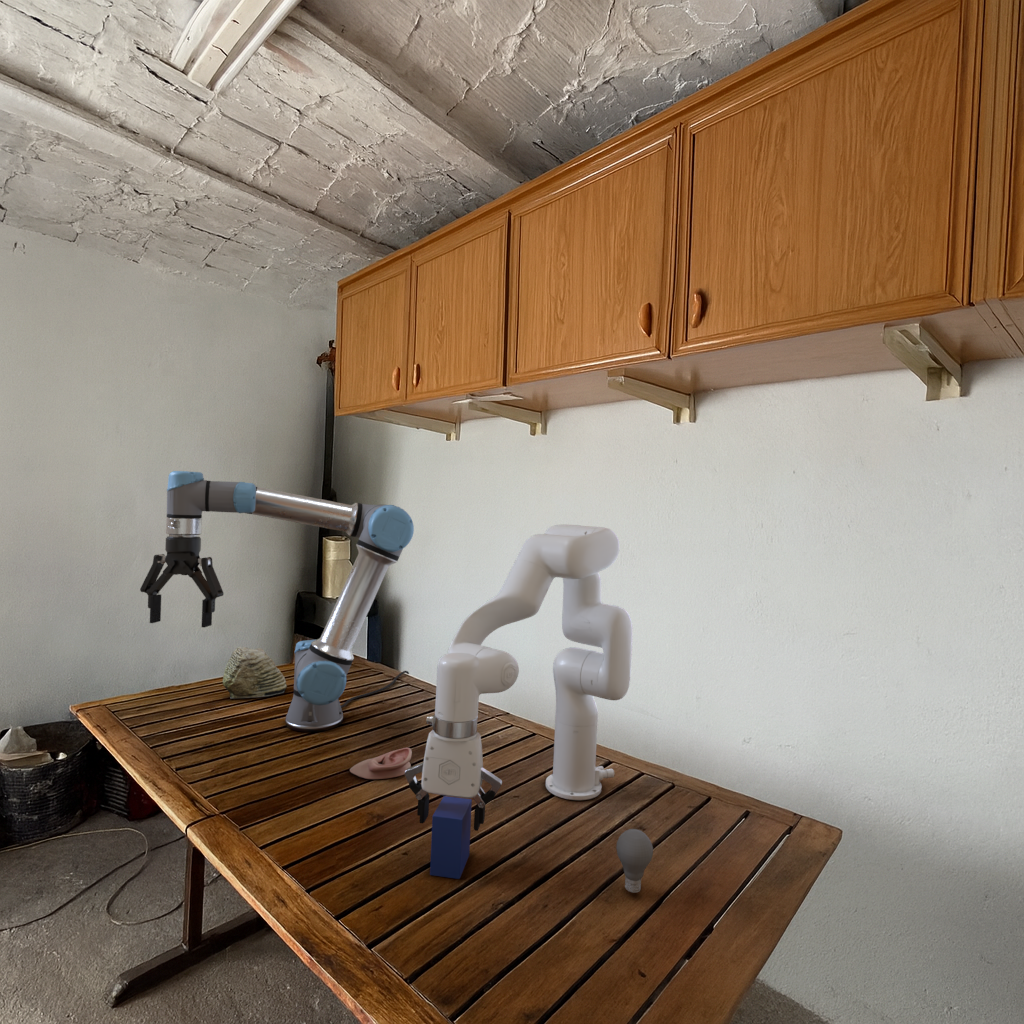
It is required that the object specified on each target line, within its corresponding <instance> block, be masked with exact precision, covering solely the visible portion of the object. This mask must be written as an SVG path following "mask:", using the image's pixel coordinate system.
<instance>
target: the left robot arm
mask: <svg viewBox="0 0 1024 1024" xmlns="http://www.w3.org/2000/svg"><path fill="white" fill-rule="evenodd" d="M167 480H168V481H167V489H166V522H165V523H166V525H165V526H166V528H165V533H166V535H168V536H166V537H165V549H164V550H165V552H166V555H165V554H164V553H160V554H159V553H158V554H154V555H153V558H152V559H153V560H152V565H151V567H150V569H149V570H148V572H147V574H146V576H145V578H144V580H143V583H142V584H141V586H140V589H139V591H140V592H141V593H145V594H146V595H147V608H148V609H149V624H155V623H159V622H162V621H161V620H162V619H161V618H162V617H161V616H162V613H161V612H162V594H161V593H160V591H161V590H162V589H163V588H164V587H165V585H166V584H168V582H169V581H170V580H171V578H172V577H173V576H176V575H177V576H178V575H181V576H188V577H189V578H191V580H192V581H193V582H194V583H195V585H196V586H197V588H198V589H199V591H200V592H201V593H202V595H203V596H204V599H202V601H201V602H202V603H201V628H207V627H211V626H212V625H213V624H212V622H213V613H214V612H215V611H216V600H217V598H220V597H223V596H224V594H225V593H224V590H223V588H222V586H221V583H220V581H219V578H218V576H217V573H216V570H215V568H214V566H213V557H212V556H205V557H200V552H201V550H202V537H200V536H201V534H202V528H203V527H202V526H203V524H202V523H203V522H202V521H203V516H202V515H203V512H207V513H208V512H212V513H213V512H215V513H233V514H234V513H235V514H237V513H238V514H248V515H254V516H259V517H265V518H269V519H274V520H275V519H276V520H281V521H286V522H291V523H297V524H302V525H308V526H313V527H318V528H323V529H329V530H335V531H340V532H345V533H346V534H347V535H348V536H349V537H352V538H358V539H357V542H356V544H355V546H356V549H357V551H358V554H357V556H356V558H355V561H354V562H353V565H352V567H351V569H350V572H349V573H348V576H347V578H346V580H345V582H344V585H343V587H342V589H341V591H340V593H339V596H338V598H337V600H336V603H335V604H334V606H333V609H332V611H331V614H330V616H329V618H328V620H327V622H326V624H325V626H324V629H323V631H322V633H321V635H320V637H319V638H317V639H307V640H300V641H298V642H297V643H295V648H294V649H295V650H294V672H293V673H294V674H293V675H294V676H293V695H292V696H293V697H292V699H291V702H290V704H289V708H288V711H287V713H286V715H285V726H286V728H287V729H289V730H291V731H294V732H295V731H296V732H301V733H316V732H325V731H329V730H332V729H335V728H337V727H339V726H340V725H342V723H343V722H344V714H343V709H342V708H345V707H346V706H347V705H348V704H349V703H350V702H352V701H354V700H356V699H359V698H363V697H367V696H370V695H373V694H376V693H379V692H382V691H384V690H386V689H388V688H390V687H391V686H392V685H393V684H395V683H396V681H397V679H399V678H400V677H401V676H402V675H403V674H407V675H410V672H409V671H408V670H403V671H401V672H400V673H399V674H398V675H396V676H395V677H394V678H393V680H392V681H391V682H390V683H388V684H387V685H385V686H383V687H381V688H379V689H376V690H372V691H369V692H366V693H363V694H362V693H361V694H358V695H356V696H355V695H354V696H353V697H350V698H349V699H347V700H346V701H345V702H344V703H342V704H341V702H340V699H339V698H340V697H341V696H342V695H343V693H344V691H345V689H346V686H347V675H348V673H349V671H350V669H351V666H352V664H353V662H354V660H355V657H354V654H353V647H354V646H355V643H356V640H357V639H358V636H359V634H360V632H361V629H362V627H363V625H364V622H365V620H366V619H367V616H368V615H369V612H370V609H371V607H372V605H373V603H374V600H375V598H376V596H377V594H378V592H379V589H380V587H381V585H382V583H383V580H384V578H385V577H386V574H387V572H388V569H389V567H390V566H391V565H394V564H396V563H398V561H399V559H400V557H401V555H402V552H403V551H404V549H405V548H406V547H407V546H408V545H409V544H410V542H411V541H412V539H413V537H414V532H415V528H414V527H415V525H414V522H413V519H412V517H411V516H410V515H409V513H408V512H407V511H406V510H405V509H403V508H402V507H400V506H397V505H394V504H367V503H361V502H354V503H353V504H347V503H343V502H336V501H332V500H327V499H322V498H316V497H312V496H306V495H301V494H296V493H290V492H286V491H281V490H275V489H270V488H266V487H260V486H256V484H255V483H254V482H245V481H222V480H217V481H216V480H206V479H205V477H204V474H203V472H201V471H185V470H173V471H171V472H170V473H169V474H168V477H167ZM165 564H166V567H165V568H164V566H165ZM200 567H201V569H200ZM163 568H164V569H163ZM162 570H163V571H162ZM161 572H162V573H161ZM159 575H160V576H159Z"/></svg>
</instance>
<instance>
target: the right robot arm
mask: <svg viewBox="0 0 1024 1024" xmlns="http://www.w3.org/2000/svg"><path fill="white" fill-rule="evenodd" d="M620 548H621V545H620V539H619V537H618V535H617V533H616V532H615V531H614V530H613V529H611V528H609V527H603V526H590V525H578V524H555V525H551V526H549V527H548V528H547V529H546V530H545V531H544V533H537V534H533V535H530V536H529V537H528V538H527V539H526V540H525V541H524V543H523V544H522V546H521V548H520V550H519V552H518V554H517V555H516V558H515V560H514V562H513V564H512V566H511V568H510V569H509V572H508V573H507V576H506V578H505V580H504V582H503V584H502V586H501V587H500V590H499V592H497V593H496V594H495V595H494V596H493V597H491V598H489V599H487V600H486V601H485V602H482V604H481V605H480V606H478V607H477V608H476V609H474V610H473V611H472V612H471V613H469V615H468V616H466V617H465V618H464V620H463V621H462V623H461V624H460V625H459V627H458V629H457V631H456V632H455V634H454V636H453V639H451V642H450V645H449V647H448V649H447V651H446V654H443V655H441V656H440V658H439V659H438V662H437V666H436V682H435V683H436V685H435V704H434V715H428V716H426V720H425V721H426V724H427V725H430V726H431V727H432V730H430V732H429V733H428V736H427V739H426V744H425V749H424V755H423V756H424V757H423V762H420V763H418V764H415V765H413V766H411V767H410V768H408V769H407V770H406V771H405V773H404V774H403V775H404V776H405V777H404V778H405V779H406V781H407V783H408V787H409V789H410V790H411V791H412V792H413V794H414V795H415V799H416V800H417V811H416V812H417V814H416V815H417V816H419V824H425V822H426V821H427V818H428V817H429V814H430V813H429V812H430V811H429V810H430V794H432V795H438V796H439V795H440V796H448V797H456V798H465V799H472V800H473V801H474V802H475V803H476V805H475V807H474V814H473V830H474V831H477V832H478V831H479V829H480V827H481V825H484V823H485V820H486V819H485V818H486V817H485V816H486V806H487V804H489V803H490V802H491V801H492V800H493V799H494V798H495V797H496V795H497V794H498V792H499V790H500V788H501V787H502V784H503V780H502V779H501V778H499V777H498V776H496V775H495V774H493V772H490V771H489V770H487V769H486V768H485V767H484V761H483V760H484V757H483V756H484V755H483V745H482V744H483V743H482V737H481V733H480V732H478V719H479V702H480V695H482V694H499V693H503V692H506V691H508V690H509V689H510V688H511V687H513V686H514V684H515V683H516V682H517V679H518V677H519V673H520V668H519V663H518V660H517V659H516V658H515V656H514V655H512V654H511V653H510V652H507V651H504V650H502V649H497V648H492V647H489V646H485V645H482V644H483V643H484V641H485V640H486V639H487V638H488V636H490V635H491V634H492V633H494V631H497V630H498V629H499V628H502V627H504V626H507V625H511V624H513V623H517V622H520V621H523V620H526V619H529V618H532V617H534V616H535V615H537V614H538V612H539V611H540V610H541V609H540V608H541V606H542V605H543V601H544V600H545V598H546V595H547V594H548V591H549V589H550V587H551V585H552V583H553V581H554V579H556V578H560V579H562V583H563V587H562V589H563V590H562V614H561V615H562V616H561V629H562V635H563V636H564V637H565V638H566V639H567V640H568V641H570V642H573V643H577V644H581V645H587V646H591V647H596V648H601V649H602V651H603V652H600V651H597V650H592V649H588V648H587V649H586V648H581V647H576V646H575V647H571V646H570V647H565V648H563V649H561V650H560V651H558V652H557V653H556V655H555V657H554V660H553V665H552V675H553V681H554V682H553V683H554V688H555V689H554V690H555V719H554V736H553V738H554V740H553V758H552V759H553V761H552V763H553V764H552V773H551V774H549V775H548V776H547V777H546V779H545V789H546V790H547V791H548V792H549V793H550V794H552V795H554V796H555V797H558V798H561V799H565V800H569V801H570V800H571V801H586V800H592V799H594V798H597V797H598V796H599V795H601V793H602V789H603V788H602V787H603V786H602V783H601V781H603V779H611V778H615V770H614V769H613V768H604V766H603V765H600V766H599V765H598V766H596V761H597V742H598V722H599V711H598V706H597V703H596V700H595V697H596V698H599V699H604V700H607V701H620V700H622V699H623V698H624V697H625V696H626V695H627V693H628V691H629V687H630V684H631V683H630V682H631V677H632V659H633V658H632V656H633V637H634V635H633V632H634V630H633V629H634V627H633V626H634V625H633V621H632V618H631V615H630V613H629V612H628V611H627V610H626V609H625V608H624V607H621V606H619V605H614V604H608V603H603V601H602V578H601V574H600V572H602V571H604V570H607V569H608V568H610V567H612V565H613V564H614V563H615V562H616V561H617V559H618V557H619V554H620ZM418 774H421V781H419V780H418V779H417V776H416V775H418ZM483 781H485V782H486V783H488V784H489V785H490V786H491V787H490V789H488V791H486V792H485V790H484V789H483V788H482V785H483Z"/></svg>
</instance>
